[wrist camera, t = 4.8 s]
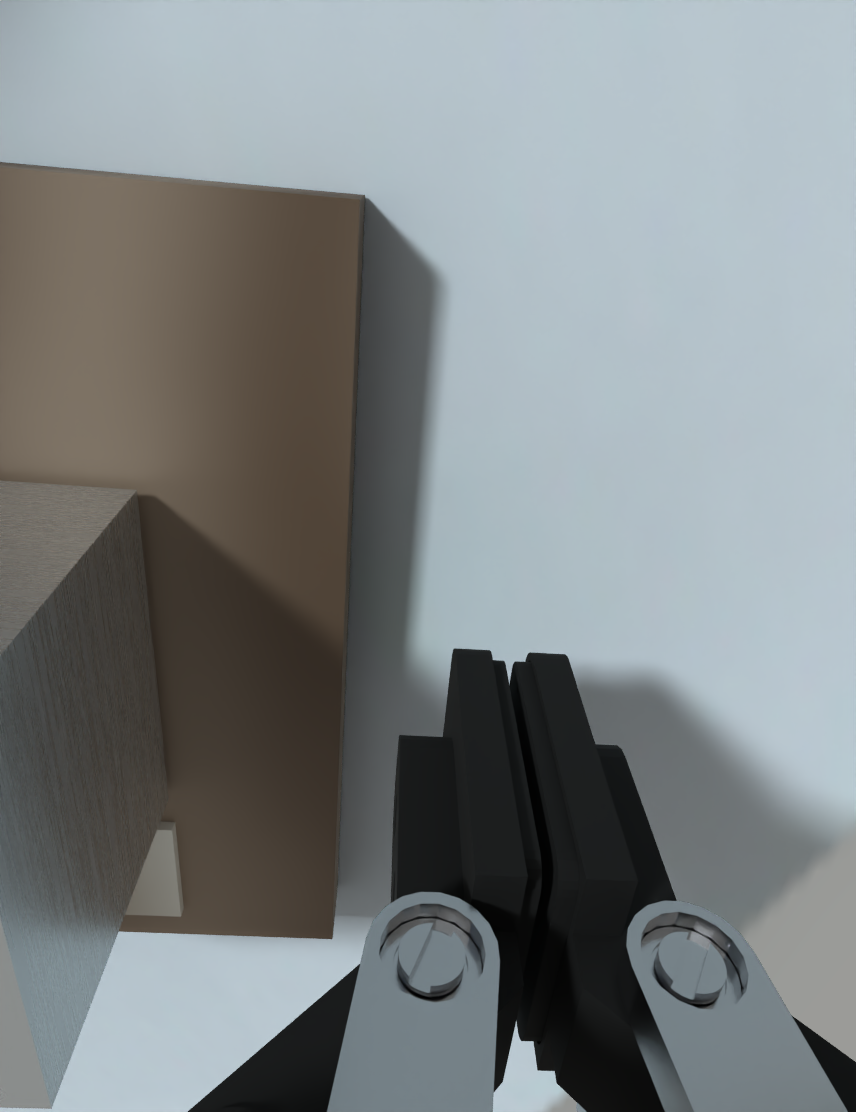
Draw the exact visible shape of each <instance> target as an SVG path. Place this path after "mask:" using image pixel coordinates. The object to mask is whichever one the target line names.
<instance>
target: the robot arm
mask: <svg viewBox="0 0 856 1112" xmlns="http://www.w3.org/2000/svg"><path fill="white" fill-rule="evenodd" d="M516 1020H517V1028H518V1034H519V1037H520V1040H521V1041H534V1048H535V1055H536V1062H537V1069H538V1070H541V1071H555V1075H556V1082H557V1084H558V1085H559V1086H560V1087H561V1088H562V1089H563V1090H565V1091H566V1092H567V1093H568V1094H569V1095H570V1096H571V1097H572V1098H573V1099H574V1100H575V1101H576V1102H577V1106H576V1109H577V1112H856V1062H855V1061H853V1060H852V1059H851V1058H849V1057H848V1056H847V1055H845V1054H844V1053H842V1052H841V1051H840V1050H838V1049H837V1048H836V1047H834V1046H833V1045H831V1044H830V1043H829V1042H827V1041H826V1040H824V1039H823V1038H822V1037H820V1036H819V1035H818V1034H816V1033H815V1032H813V1031H812V1030H811V1029H809V1028H808V1027H807V1026H805V1025H804V1024H803V1023H801V1022H800V1021H798V1020H797V1019H796V1018H794V1017H793V1016H792V1015H791V1014H790V1012H789V1011H788V1009H787V1007H786V1005H785V1004H784V1002H783V1000H782V999H781V997H780V995H779V993H778V992H777V990H776V988H775V987H774V985H773V983H772V982H771V980H770V978H769V976H768V975H767V973H766V971H765V970H764V968H763V966H762V964H761V963H760V961H759V959H758V958H757V956H756V954H755V953H754V951H753V950H752V948H751V947H750V946H749V944H748V943H747V942H746V940H745V939H744V938H743V936H742V935H741V934H740V933H739V932H738V931H737V930H736V929H735V928H734V927H732V926H731V925H730V924H729V923H728V922H727V921H725V920H724V919H723V918H722V917H720V916H718V915H716V914H714V913H713V912H711V911H709V910H707V909H705V908H704V907H700V906H697V905H694V904H690V903H687V902H684V901H676V898H675V895H674V892H673V889H672V887H671V884H670V881H669V878H668V875H667V873H666V870H665V867H664V864H663V861H662V859H661V856H660V853H659V850H658V847H657V845H656V842H655V839H654V836H653V833H652V831H651V828H650V825H649V822H648V819H647V817H646V814H645V811H644V808H643V805H642V803H641V800H640V797H639V794H638V791H637V788H636V786H635V783H634V780H633V777H632V774H631V772H630V769H629V766H628V763H627V760H626V758H625V756H624V753H623V751H622V749H621V748H619V747H618V746H616V745H595V742H594V739H593V736H592V733H591V729H590V726H589V723H588V720H587V717H586V713H585V710H584V707H583V704H582V701H581V697H580V694H579V691H578V688H577V685H576V681H575V678H574V675H573V672H572V669H571V665H570V662H569V659H568V657H567V656H566V655H565V654H547V653H529V654H528V655H527V658H526V662H514V664H513V668H512V673H511V679H510V686H509V681H508V676H507V670H506V665H505V662H504V661H496V660H493V659H492V654H491V651H490V650H473V649H454V650H453V654H452V661H451V670H450V678H449V687H448V696H447V705H446V714H445V723H444V732H443V737H427V736H406V735H400V736H399V742H398V754H397V767H396V780H395V796H394V817H393V846H392V883H391V903H390V904H389V905H387V906H385V908H384V909H383V910H382V911H381V912H380V913H379V914H378V916H377V917H376V918H375V919H374V920H373V922H372V925H371V927H370V930H369V932H368V934H367V937H366V940H365V945H364V949H363V954H362V958H361V963H360V964H359V965H358V966H357V967H356V968H355V969H353V970H352V971H351V972H350V973H349V974H348V975H346V976H345V977H344V978H343V979H342V980H341V981H339V982H338V983H337V984H336V985H335V986H334V987H332V988H331V989H330V990H329V991H328V992H327V993H325V994H324V995H323V996H322V997H321V998H320V999H318V1000H317V1001H316V1002H315V1003H314V1004H313V1005H311V1006H310V1007H309V1008H308V1009H307V1010H306V1011H304V1012H303V1013H302V1014H301V1015H300V1016H299V1017H297V1018H296V1019H295V1020H294V1021H293V1022H292V1023H290V1024H289V1025H288V1026H287V1027H286V1028H285V1029H284V1030H282V1031H281V1032H280V1033H279V1034H278V1035H277V1036H275V1037H274V1038H273V1039H272V1040H271V1041H270V1042H268V1043H267V1044H266V1045H265V1046H264V1047H263V1048H261V1049H260V1050H259V1051H258V1052H257V1053H256V1054H254V1055H253V1056H252V1057H251V1058H250V1059H249V1060H247V1061H246V1062H245V1063H244V1064H243V1065H242V1066H240V1067H239V1068H238V1069H237V1070H236V1071H235V1072H233V1073H232V1074H231V1075H230V1076H229V1077H228V1078H226V1079H225V1080H224V1081H223V1082H222V1083H221V1084H219V1085H218V1086H217V1087H216V1088H215V1089H214V1090H212V1091H211V1092H210V1093H209V1094H208V1095H207V1096H205V1097H204V1098H203V1099H202V1100H201V1101H200V1102H198V1103H197V1104H196V1105H195V1106H194V1107H193V1108H191V1109H190V1110H189V1111H188V1112H493V1093H494V1092H495V1090H496V1089H497V1088H498V1087H499V1086H500V1084H501V1083H502V1082H503V1078H504V1073H505V1069H506V1064H507V1060H508V1055H509V1051H510V1046H511V1041H512V1037H513V1032H514V1028H515V1023H516Z"/></svg>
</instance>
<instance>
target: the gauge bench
mask: <svg viewBox="0 0 856 1112" xmlns="http://www.w3.org/2000/svg"><path fill="white" fill-rule="evenodd" d="M364 211H365V195H357V194H346V193H335V192H324V191H313V190H302V189H291V188H280V187H268V186H257V185H246V184H235V183H224V182H213V181H202V180H191V179H180V178H169V177H158V176H147V175H136V174H125V173H114V172H103V171H92V170H81V169H70V168H59V167H48V166H37V165H26V164H14V163H3V162H0V481H13V482H28V483H43V484H57V485H72V486H87V487H102V488H116V489H131V490H137V496H138V505H139V515H140V525H141V534H142V544H143V554H144V564H145V573H146V583H147V593H148V602H149V612H150V622H151V631H152V641H153V651H154V660H155V670H156V680H157V689H158V699H159V709H160V718H161V728H162V738H163V747H164V757H165V767H166V776H167V786H168V796H169V799H168V802H167V805H166V807H165V810H164V813H163V815H162V818H161V821H160V823H159V826H158V829H157V831H156V834H155V836H154V839H153V842H152V844H151V847H150V850H149V852H148V855H147V858H146V860H145V863H144V866H143V868H142V871H141V873H140V876H139V879H138V881H137V884H136V887H135V889H134V892H133V895H132V897H131V900H130V903H129V905H128V908H127V910H126V913H125V916H124V918H123V921H122V924H121V926H120V929H119V931H123V932H151V933H178V934H206V935H234V936H262V937H290V938H318V939H332V937H333V927H334V917H335V908H336V898H337V885H338V860H339V835H340V810H341V785H342V760H343V735H344V710H345V685H346V660H347V635H348V610H349V585H350V560H351V535H352V510H353V485H354V460H355V435H356V410H357V385H358V361H359V336H360V311H361V286H362V261H363V236H364Z"/></svg>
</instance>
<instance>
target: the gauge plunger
mask: <svg viewBox="0 0 856 1112" xmlns="http://www.w3.org/2000/svg"><path fill="white" fill-rule="evenodd" d="M168 799H169V796H168V786H167V776H166V767H165V757H164V747H163V738H162V728H161V718H160V709H159V699H158V689H157V680H156V670H155V660H154V651H153V641H152V631H151V622H150V612H149V602H148V593H147V583H146V573H145V564H144V554H143V544H142V534H141V525H140V515H139V505H138V496H137V490H131V489H116V488H102V487H87V486H72V485H57V484H43V483H28V482H13V481H0V1107H5V1108H48V1109H52V1106H53V1103H54V1101H55V1098H56V1096H57V1093H58V1090H59V1088H60V1085H61V1082H62V1080H63V1077H64V1074H65V1072H66V1069H67V1066H68V1064H69V1061H70V1059H71V1056H72V1053H73V1051H74V1048H75V1045H76V1043H77V1040H78V1037H79V1035H80V1032H81V1029H82V1027H83V1024H84V1022H85V1019H86V1016H87V1014H88V1011H89V1008H90V1006H91V1003H92V1000H93V998H94V995H95V992H96V990H97V987H98V984H99V982H100V979H101V977H102V974H103V971H104V969H105V966H106V963H107V961H108V958H109V955H110V953H111V950H112V947H113V945H114V942H115V940H116V937H117V934H118V932H119V929H120V926H121V924H122V921H123V918H124V916H125V913H126V910H127V908H128V905H129V903H130V900H131V897H132V895H133V892H134V889H135V887H136V884H137V881H138V879H139V876H140V873H141V871H142V868H143V866H144V863H145V860H146V858H147V855H148V852H149V850H150V847H151V844H152V842H153V839H154V836H155V834H156V831H157V829H158V826H159V823H160V821H161V818H162V815H163V813H164V810H165V807H166V805H167V802H168Z"/></svg>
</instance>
